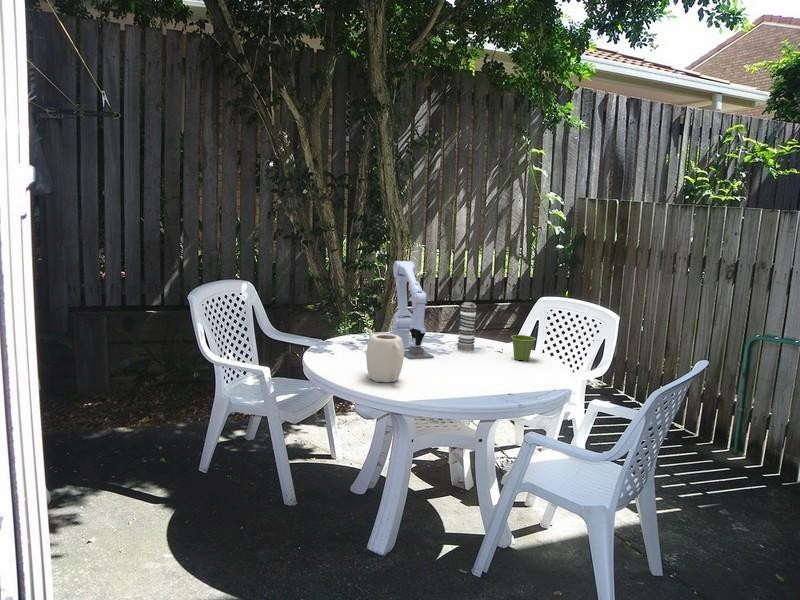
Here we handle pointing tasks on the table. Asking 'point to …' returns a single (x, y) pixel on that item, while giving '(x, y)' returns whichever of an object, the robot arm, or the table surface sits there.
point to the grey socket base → (417, 353)
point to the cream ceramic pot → (384, 357)
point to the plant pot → (522, 346)
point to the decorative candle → (467, 327)
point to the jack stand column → (415, 343)
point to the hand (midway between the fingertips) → (416, 344)
